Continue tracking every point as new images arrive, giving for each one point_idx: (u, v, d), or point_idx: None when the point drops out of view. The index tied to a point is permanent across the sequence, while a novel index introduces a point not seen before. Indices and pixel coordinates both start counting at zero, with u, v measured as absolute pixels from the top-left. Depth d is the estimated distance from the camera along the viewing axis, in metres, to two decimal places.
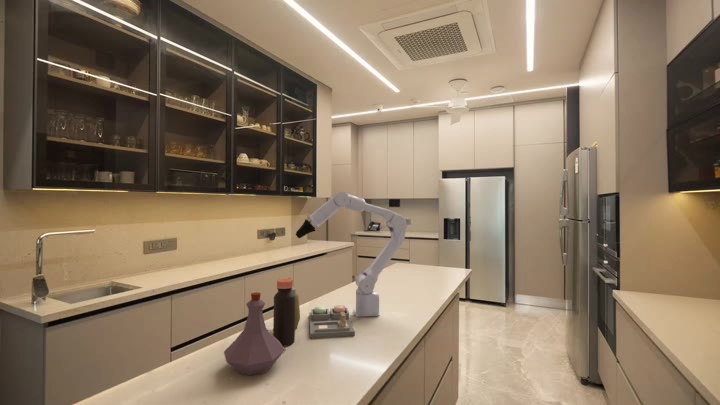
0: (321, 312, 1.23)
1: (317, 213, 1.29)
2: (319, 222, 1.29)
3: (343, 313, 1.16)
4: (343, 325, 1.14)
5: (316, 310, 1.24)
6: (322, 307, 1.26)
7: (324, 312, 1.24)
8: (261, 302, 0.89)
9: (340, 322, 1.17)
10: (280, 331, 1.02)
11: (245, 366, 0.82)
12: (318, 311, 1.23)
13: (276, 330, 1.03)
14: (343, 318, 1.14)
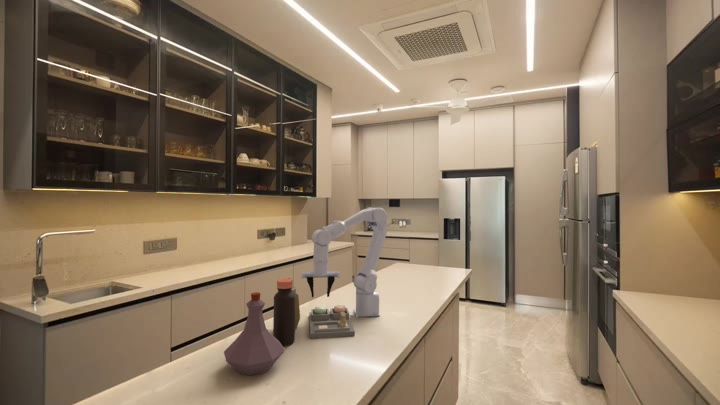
0: (321, 312, 1.23)
1: (326, 266, 1.24)
2: None
3: (343, 313, 1.16)
4: (343, 325, 1.14)
5: (316, 310, 1.24)
6: (322, 307, 1.26)
7: (324, 312, 1.24)
8: (261, 302, 0.89)
9: (340, 322, 1.17)
10: (280, 331, 1.02)
11: (245, 366, 0.82)
12: (318, 311, 1.23)
13: (276, 330, 1.03)
14: (343, 318, 1.14)
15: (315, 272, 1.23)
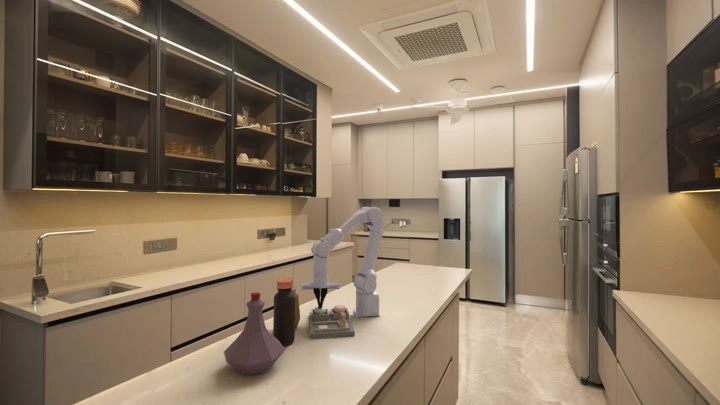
0: (321, 312, 1.23)
1: (326, 278, 1.24)
2: None
3: (343, 313, 1.16)
4: (343, 325, 1.14)
5: (316, 310, 1.24)
6: (322, 307, 1.26)
7: (324, 312, 1.24)
8: (261, 302, 0.89)
9: (340, 322, 1.17)
10: (280, 331, 1.02)
11: (245, 366, 0.82)
12: (318, 311, 1.23)
13: (276, 330, 1.03)
14: (343, 318, 1.14)
15: (315, 284, 1.23)
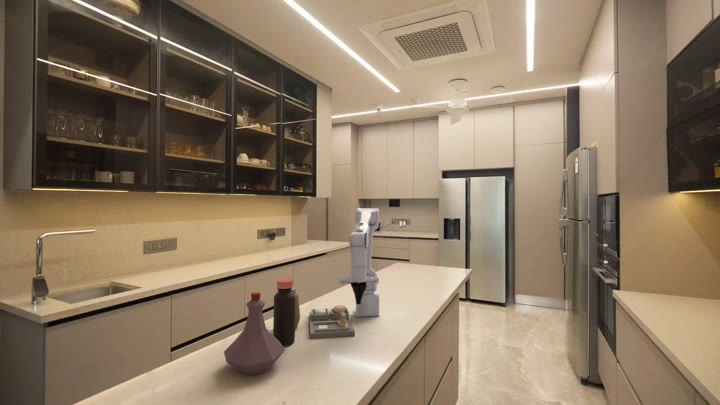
0: None
1: (365, 271, 1.16)
2: None
3: (343, 313, 1.16)
4: (343, 325, 1.14)
5: (316, 313, 1.24)
6: (322, 310, 1.26)
7: None
8: (261, 302, 0.89)
9: (340, 322, 1.17)
10: (280, 331, 1.02)
11: (245, 366, 0.82)
12: None
13: (276, 330, 1.03)
14: (343, 318, 1.14)
15: (353, 278, 1.15)
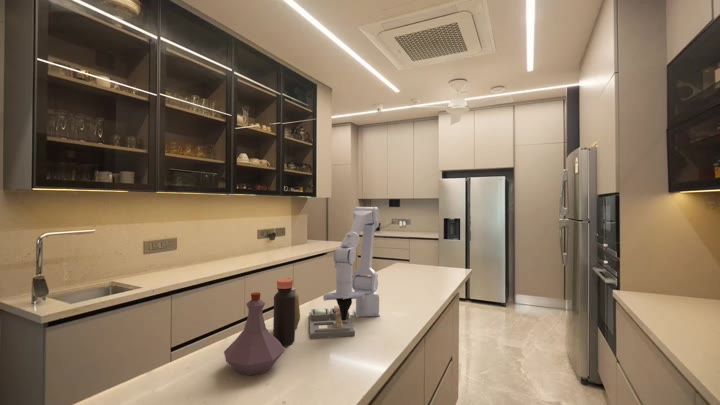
0: None
1: (351, 287, 1.15)
2: None
3: (338, 313, 1.16)
4: (338, 325, 1.13)
5: (316, 313, 1.24)
6: (322, 310, 1.26)
7: None
8: (261, 302, 0.89)
9: (335, 322, 1.17)
10: (280, 331, 1.02)
11: (245, 366, 0.82)
12: None
13: (276, 330, 1.03)
14: (338, 318, 1.13)
15: (338, 294, 1.14)
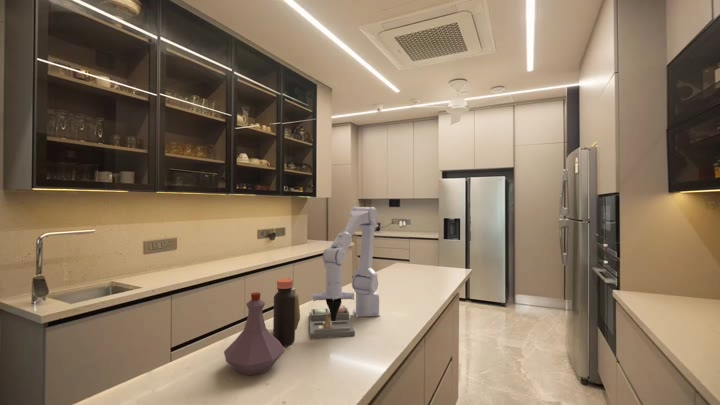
0: None
1: (340, 287, 1.14)
2: None
3: (328, 314, 1.15)
4: (327, 326, 1.13)
5: (316, 313, 1.24)
6: (322, 310, 1.26)
7: None
8: (261, 302, 0.89)
9: (325, 323, 1.16)
10: (280, 331, 1.02)
11: (245, 366, 0.82)
12: None
13: (276, 330, 1.03)
14: (328, 319, 1.13)
15: (328, 294, 1.13)
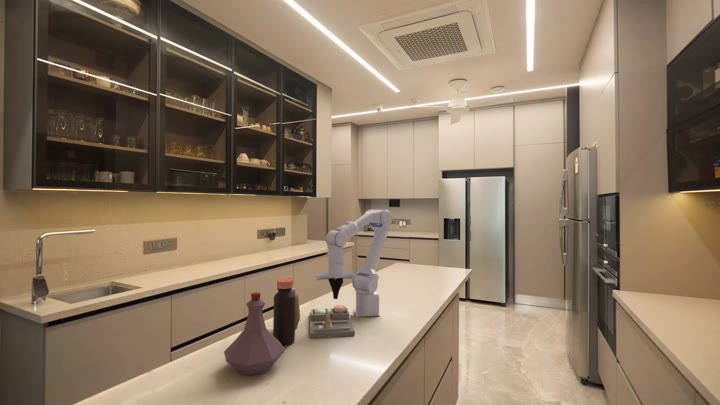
0: None
1: (342, 268, 1.22)
2: None
3: (328, 314, 1.15)
4: (327, 326, 1.13)
5: (316, 313, 1.24)
6: (322, 310, 1.26)
7: None
8: (261, 302, 0.89)
9: (325, 323, 1.16)
10: (280, 331, 1.02)
11: (245, 366, 0.82)
12: None
13: (276, 330, 1.03)
14: (327, 319, 1.13)
15: (330, 274, 1.21)
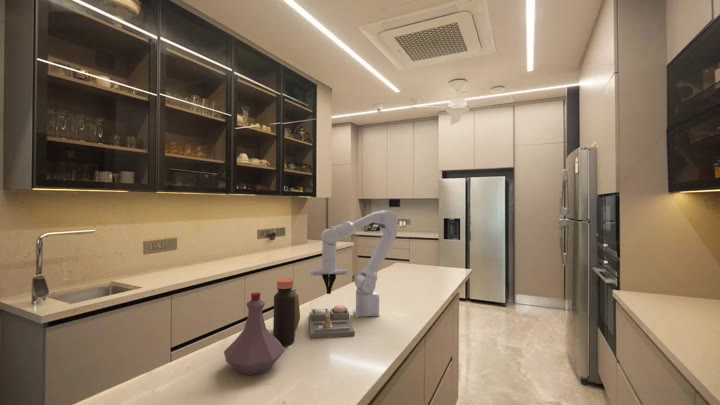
0: None
1: (335, 264, 1.29)
2: None
3: (328, 314, 1.15)
4: (327, 326, 1.13)
5: (316, 313, 1.24)
6: (322, 310, 1.26)
7: None
8: (261, 302, 0.89)
9: (325, 323, 1.16)
10: (280, 331, 1.02)
11: (245, 366, 0.82)
12: None
13: (276, 330, 1.03)
14: (327, 319, 1.13)
15: (324, 270, 1.28)
